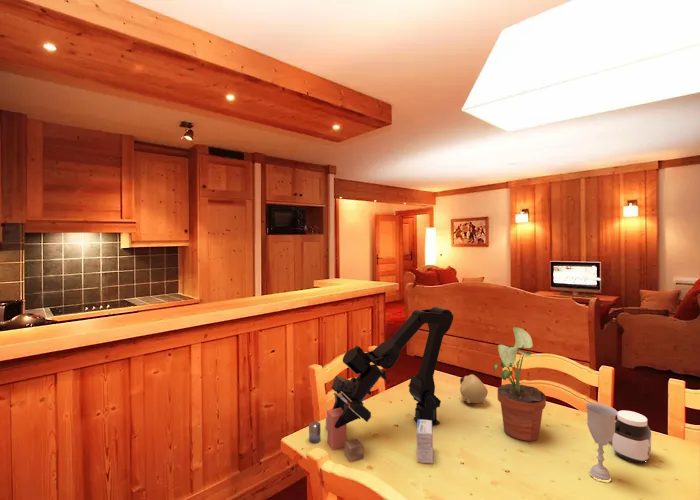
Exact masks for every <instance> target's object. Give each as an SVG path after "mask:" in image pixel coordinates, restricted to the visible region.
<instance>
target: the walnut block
mask: <svg viewBox="0 0 700 500" xmlns="http://www.w3.org/2000/svg"><path fill="white" fill-rule="evenodd" d="M344 456H345V457H346V458H347V460H348V461H349V462H350V463H354V462H356V461H360V460H364V445H363V444H362V442H361V441H360V440H359V439H358V438H354V439H350V440H347V441H345V447H344Z"/></svg>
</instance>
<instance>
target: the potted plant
mask: <svg viewBox="0 0 700 500" xmlns="http://www.w3.org/2000/svg"><path fill="white" fill-rule="evenodd" d="M512 331H513V334H514V339H515V343H514V345H513V346H508V345H504V344H498V345H497V346H498V347H497V351H498V354H499V357H500V360H501V361H500V367H501V368H503V370H501V372H500V375H501V379H502V380H504V381H507V379H508V381H509V382H510V383H507V384H505V383H504V384H502V385H500V386H498V387H497V401H498V402H499V403H500V407H501V416H502V423H503V430H504V432H505V433H506V434H507V435H508V436H510V437H512V438H513V439H518V440H522V441H528V442H532V441H538V440H539V437H540V430H541V426H542V425H541V424H542V419H543V412H544V411H543V410H544V409H545V407H546V406H547V403H546V402H547V401H546V400H547V397H546V394H545V393H544V392H543V391H541V390H540V389H538V388H537V387H535V386H530V385H525V384H521V383H520V379H521V378H520V377H521V372H522V371H521V370H522V365H523V360H524V357H525V358H529V359H530V357H531V355H532V354H531V353H532V352H531V348H532V347H533V346H534V343H533V339H532V337H531V335H530V334H529V333H528V332H527V331H526V330H525V329H523V328H520V327H517V326H516V327H515V326H513V327H512ZM520 348H523V349H524V350H522V349H520ZM526 349H528V351H526ZM517 353H520V355H519V357H521V358H519V359H518V361H517V362H516V360H517ZM515 362H516V364H515ZM515 365H516V366H515ZM497 368H499V366H498V364H497V363H495V364H494V365H493V373H496V369H497ZM504 368H507V369H504ZM510 368H514V373H513V370H511V369H510ZM513 374H515V375H513ZM514 376H515V378H514Z"/></svg>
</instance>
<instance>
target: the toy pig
mask: <svg viewBox="0 0 700 500" xmlns="http://www.w3.org/2000/svg"><path fill="white" fill-rule="evenodd" d="M459 383H460V387H459V391H460V392H459V393H460V394H461V396H462V398H463V400H464V402H466V403H467V404H471V403H473V404H477V403H481V404H485V403H486V399H487V397H488V396H487V395H488V393H489V391H488V389H487V386H486V385H485V384H484V382H482V381H481V379H480V378H479V377H477V376H476V375H475V374H473V373H472V374H469V375H465V376H464V377H463V376H462V377H461V378H460V380H459Z"/></svg>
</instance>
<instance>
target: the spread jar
mask: <svg viewBox="0 0 700 500" xmlns="http://www.w3.org/2000/svg"><path fill="white" fill-rule="evenodd" d="M617 412H618V414H617V415H616V417H617V419H615V433H614V435H613V437H612V439H611V440H610V441H609V443H612V450H613V451H614V453H615V454H616V455H618V456H619V457H620V456H621V457H620V458H621V459H623V458H624V459H623V460H625V459H627V460H626V461H628V460H630V461H629V462H631V461H633V462H632V463H634V462H639V463H638V464H643V463H642V462H645V461H647V460H648V461H649V459H650V456H651V451H652V431H651V428H650V427H649V425H648V418H647V417H646V416H645V415H643V414H640V413H638V412H635V411H631V410H624V409H623V410H619V411H617ZM648 461H647V462H648ZM645 463H646V462H645Z"/></svg>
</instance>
